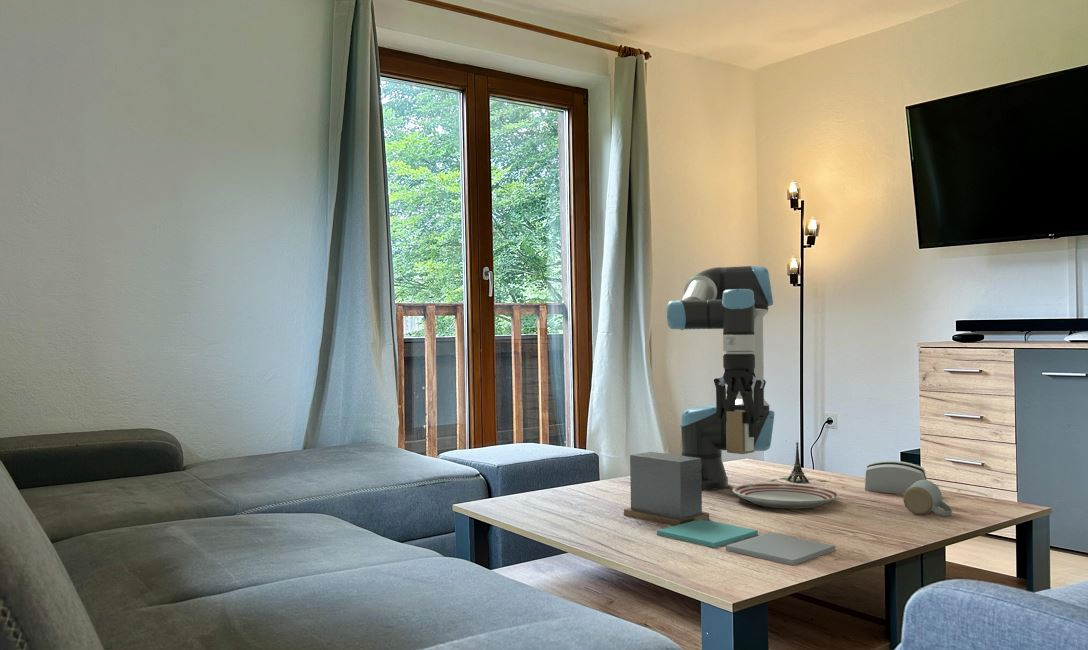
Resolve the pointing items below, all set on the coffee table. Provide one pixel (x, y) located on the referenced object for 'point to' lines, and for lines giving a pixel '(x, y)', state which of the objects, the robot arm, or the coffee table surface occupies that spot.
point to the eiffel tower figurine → (797, 472)
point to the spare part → (736, 432)
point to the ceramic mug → (925, 499)
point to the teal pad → (707, 533)
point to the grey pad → (780, 548)
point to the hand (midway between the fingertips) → (740, 449)
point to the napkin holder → (892, 476)
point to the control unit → (666, 488)
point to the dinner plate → (785, 495)
